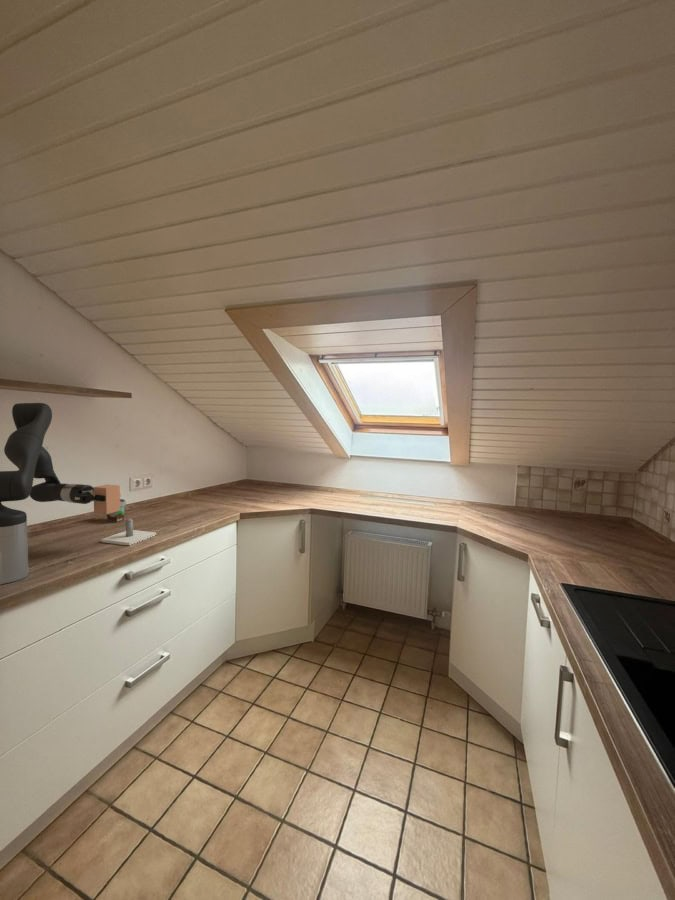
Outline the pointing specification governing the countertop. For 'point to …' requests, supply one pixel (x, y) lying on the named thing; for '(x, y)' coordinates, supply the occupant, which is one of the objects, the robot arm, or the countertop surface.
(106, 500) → the salmon orange block
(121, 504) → the food container
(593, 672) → the countertop surface
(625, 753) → the countertop surface
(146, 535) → the post
